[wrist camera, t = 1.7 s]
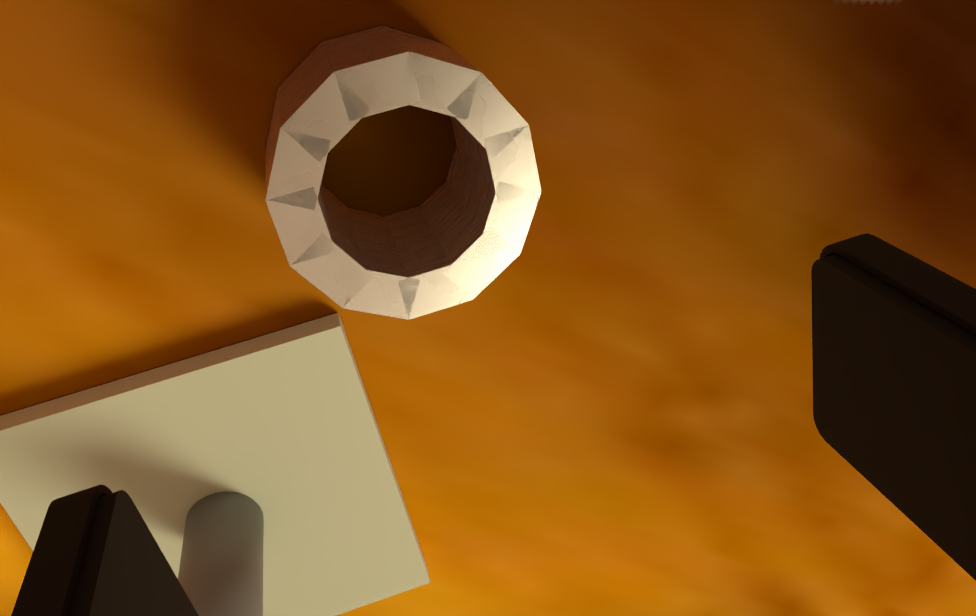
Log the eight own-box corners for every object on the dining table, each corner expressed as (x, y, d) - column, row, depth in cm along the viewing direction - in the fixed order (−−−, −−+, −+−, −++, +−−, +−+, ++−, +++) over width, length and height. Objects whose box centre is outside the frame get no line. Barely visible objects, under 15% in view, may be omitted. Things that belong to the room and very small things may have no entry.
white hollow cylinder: (464, 3, 23) (509, 24, 19) (510, 214, 27) (557, 273, 22) (235, 64, 23) (228, 100, 18) (311, 273, 26) (320, 347, 22)
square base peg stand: (338, 312, 27) (358, 430, 21) (426, 564, 32) (462, 715, 26) (-30, 424, 25) (-125, 587, 19) (130, 667, 31) (96, 851, 25)
